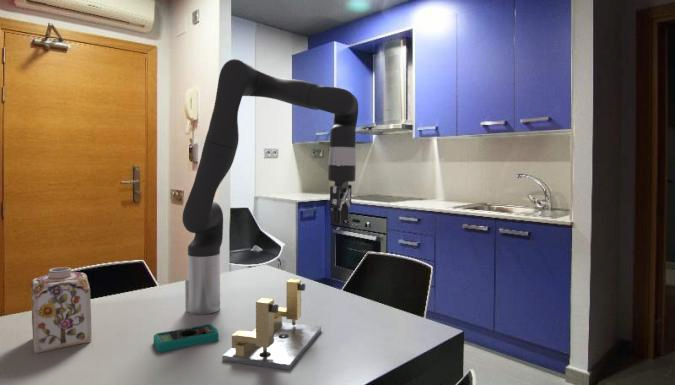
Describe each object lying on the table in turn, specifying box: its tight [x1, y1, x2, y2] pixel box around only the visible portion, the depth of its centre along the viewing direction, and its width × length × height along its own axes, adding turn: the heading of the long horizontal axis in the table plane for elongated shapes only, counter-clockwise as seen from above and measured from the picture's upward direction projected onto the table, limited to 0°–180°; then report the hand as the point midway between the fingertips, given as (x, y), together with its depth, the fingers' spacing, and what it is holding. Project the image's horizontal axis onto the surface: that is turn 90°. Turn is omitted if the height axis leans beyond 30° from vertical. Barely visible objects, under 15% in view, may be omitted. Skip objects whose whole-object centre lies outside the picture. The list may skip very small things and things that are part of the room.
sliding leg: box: [274, 278, 306, 325], centre depth 113 cm, size 10×3×12 cm, turn 75°
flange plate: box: [221, 321, 322, 371], centre depth 104 cm, size 16×23×1 cm
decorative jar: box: [30, 266, 93, 354], centre depth 105 cm, size 12×12×18 cm
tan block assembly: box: [231, 297, 283, 357], centre depth 104 cm, size 10×22×12 cm, turn 165°
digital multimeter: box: [153, 323, 220, 354], centre depth 105 cm, size 7×15×3 cm, turn 122°
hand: (340, 222), depth 118 cm, fingers open, 8 cm apart
